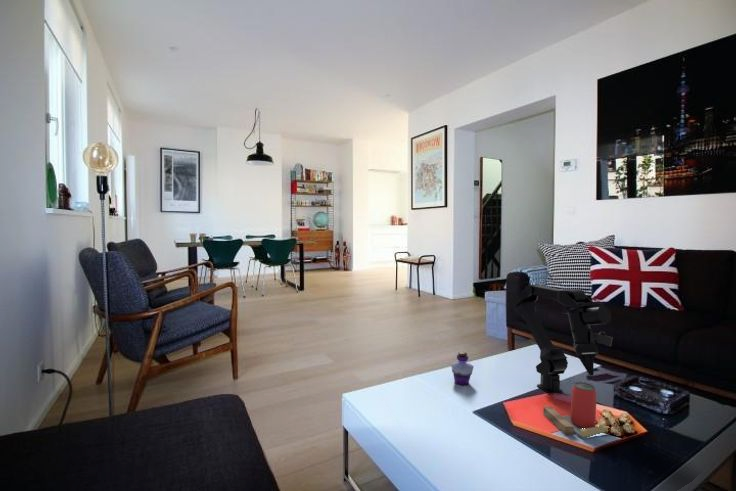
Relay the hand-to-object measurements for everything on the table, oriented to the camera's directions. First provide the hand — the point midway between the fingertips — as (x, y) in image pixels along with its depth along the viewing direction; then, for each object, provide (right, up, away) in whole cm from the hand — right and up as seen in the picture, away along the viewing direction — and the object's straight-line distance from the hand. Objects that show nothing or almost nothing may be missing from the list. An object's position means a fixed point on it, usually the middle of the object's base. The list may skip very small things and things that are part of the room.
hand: (590, 373), depth 124 cm
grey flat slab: (-8, -13, -10) cm, 18 cm away
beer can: (-8, -12, -10) cm, 18 cm away
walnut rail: (-15, -13, -9) cm, 22 cm away
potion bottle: (-38, -11, +21) cm, 44 cm away
